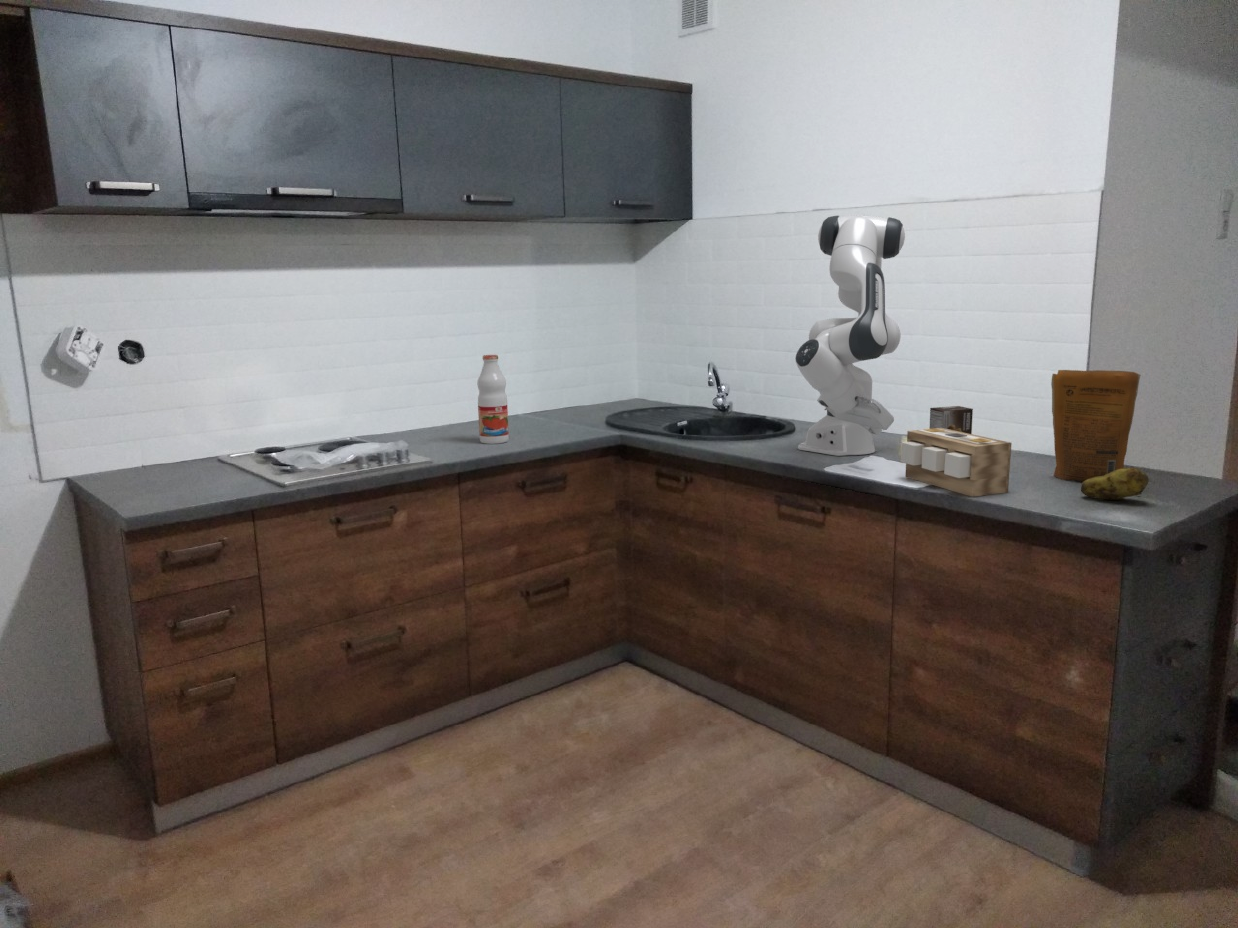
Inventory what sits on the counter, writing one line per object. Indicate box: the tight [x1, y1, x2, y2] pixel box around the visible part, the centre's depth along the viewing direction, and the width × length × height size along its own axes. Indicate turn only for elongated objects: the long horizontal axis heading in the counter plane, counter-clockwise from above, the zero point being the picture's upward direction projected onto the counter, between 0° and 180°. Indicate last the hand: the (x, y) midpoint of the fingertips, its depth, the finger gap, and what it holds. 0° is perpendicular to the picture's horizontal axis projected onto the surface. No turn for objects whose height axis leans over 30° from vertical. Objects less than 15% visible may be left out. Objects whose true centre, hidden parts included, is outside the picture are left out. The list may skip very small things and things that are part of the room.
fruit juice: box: [477, 354, 510, 445], centre depth 294 cm, size 9×9×28 cm
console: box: [904, 428, 1013, 498], centre depth 226 cm, size 11×24×12 cm, turn 22°
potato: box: [1080, 467, 1150, 500], centre depth 208 cm, size 8×13×8 cm, turn 37°
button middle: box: [922, 446, 948, 472], centre depth 224 cm, size 9×5×5 cm, turn 112°
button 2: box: [944, 452, 972, 478], centre depth 217 cm, size 9×5×5 cm, turn 112°
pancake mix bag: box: [1050, 369, 1141, 483], centre depth 224 cm, size 7×19×28 cm, turn 47°
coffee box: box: [929, 405, 974, 434], centre depth 246 cm, size 9×6×16 cm
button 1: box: [899, 441, 925, 465], centre depth 232 cm, size 9×5×5 cm, turn 112°
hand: (876, 432), depth 225 cm, fingers closed
